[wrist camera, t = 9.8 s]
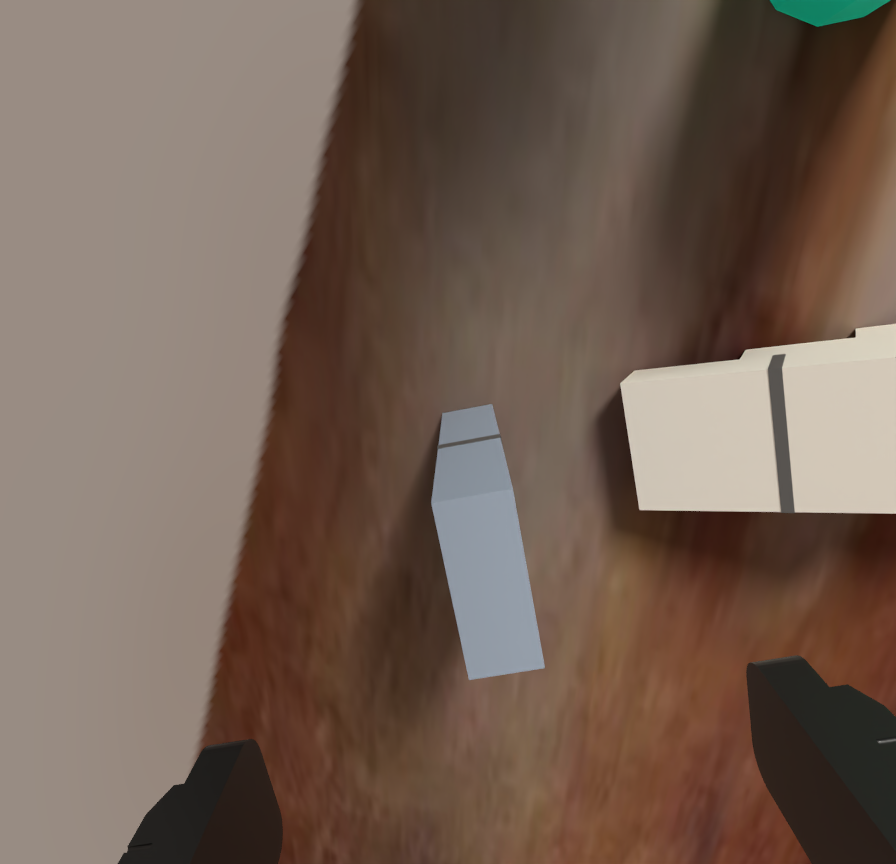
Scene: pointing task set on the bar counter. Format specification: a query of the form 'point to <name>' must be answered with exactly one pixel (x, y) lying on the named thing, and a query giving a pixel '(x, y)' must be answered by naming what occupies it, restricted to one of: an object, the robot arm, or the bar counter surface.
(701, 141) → the bar counter surface
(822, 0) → the candle
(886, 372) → the domino
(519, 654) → the domino
